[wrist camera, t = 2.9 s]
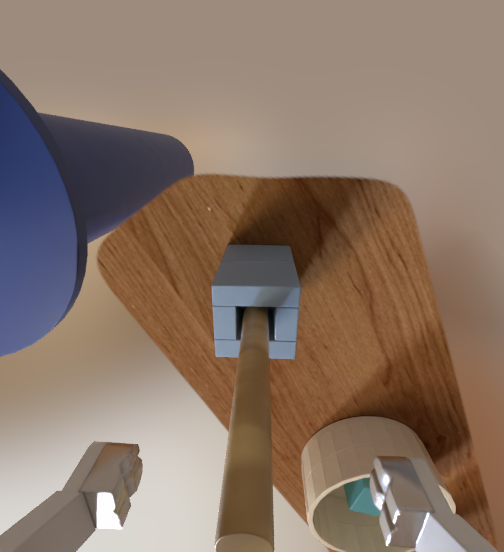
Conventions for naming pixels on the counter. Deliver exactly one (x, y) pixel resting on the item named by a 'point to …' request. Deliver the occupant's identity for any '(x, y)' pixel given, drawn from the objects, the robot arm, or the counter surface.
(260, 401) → the stirring stick
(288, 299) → the holder
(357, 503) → the teal block
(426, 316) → the counter surface
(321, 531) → the bowl
